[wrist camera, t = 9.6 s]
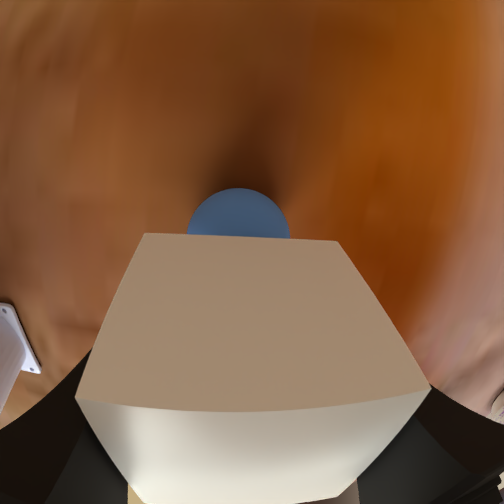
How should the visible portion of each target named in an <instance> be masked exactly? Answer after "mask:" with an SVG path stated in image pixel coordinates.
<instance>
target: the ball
mask: <svg viewBox="0 0 504 504" xmlns="http://www.w3.org/2000/svg"><path fill="white" fill-rule="evenodd" d="M187 234H190V235H216V236H240V237H263V238H284V239H290V233H289V228H288V224H287V221H286V219H285V217H284V215H283V213H282V211H281V210H280V209H279V207H278V206H277V205H276V204H275V203H274V202H273V201H272V200H271V199H269V198H268V197H266V196H265V195H263V194H261V193H259V192H257V191H254V190H250V189H244V188H232V189H226V190H223V191H220V192H218V193H215V194H213V195H212V196H210V197H209V198H207V199H206V200H205V201H204V202H203V203H202V204H201V205H200V206H199V207H198V208H197V209H196V211H195V212H194V214H193V216H192V218H191V220H190V223H189V226H188V230H187Z"/></svg>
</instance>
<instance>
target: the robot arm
mask: <svg viewBox="0 0 504 504" xmlns="http://www.w3.org/2000/svg"><path fill="white" fill-rule="evenodd" d="M92 348H93V347H92ZM91 351H92V349H91V350H90V351H89V352H88V353H87V354H86V356H85V357H84V358H83V359H82V360H81V361H80V362H79V363H78V364H77V365H76V367H75V368H74V369H73V370H72V371H71V372H70V373H69V374H68V375H67V376H66V377H65V378H64V379H63V380H62V381H61V382H60V383H59V384H58V385H57V386H56V387H55V388H54V389H53V390H52V391H51V392H50V393H48V394H47V395H46V396H45V397H44V398H43V399H42V400H40V401H39V402H38V403H37V404H36V405H34V406H33V407H32V408H31V409H29V410H28V411H27V412H25V413H24V414H23V415H21V416H20V417H19V418H17V419H16V420H14V421H13V422H11V423H10V424H8V425H7V426H5V427H4V428H2V429H1V430H0V504H128V503H127V501H128V495H127V494H128V482H127V481H126V479H125V478H124V476H123V475H122V474H121V472H120V471H119V469H118V468H117V467H116V465H115V464H114V462H113V461H112V459H111V458H110V456H109V455H108V453H107V452H106V450H105V449H104V447H103V446H102V444H101V442H100V441H99V439H98V438H97V436H96V434H95V433H94V431H93V429H92V428H91V426H90V424H89V422H88V421H87V419H86V417H85V415H84V414H83V412H82V410H81V408H80V406H79V404H78V403H77V401H76V399H75V395H76V392H77V389H78V386H79V383H80V381H81V378H82V375H83V372H84V370H85V367H86V364H87V361H88V359H89V356H90V354H91ZM20 370H25V371H29V372H33V373H37V374H40V373H41V370H42V369H41V367H40V365H39V363H38V361H37V359H36V357H35V355H34V353H33V351H32V349H31V347H30V345H29V342H28V340H27V338H26V336H25V333H24V331H23V329H22V327H21V324H20V322H19V319H18V317H17V314H16V312H15V309H14V307H13V306H12V305H10V304H6V303H0V414H1V412H2V409H3V407H4V405H5V402H6V400H7V398H8V396H9V393H10V391H11V389H12V387H13V385H14V382H15V380H16V378H17V376H18V374H19V372H20ZM429 385H430V386H431V388H432V389H431V390H430V392H429V393H428V394H427V396H426V397H425V399H424V400H423V401H422V403H421V404H420V405H419V407H418V408H417V409H416V411H415V412H414V413H413V415H412V416H411V417H410V419H409V420H408V421H407V422H406V424H405V425H404V426H403V427H402V429H401V430H400V431H399V432H398V434H397V435H396V436H395V437H394V438H393V439H392V441H391V442H390V443H389V444H388V445H387V446H386V448H385V449H384V450H383V451H382V452H381V453H380V454H379V455H378V456H377V458H376V459H375V460H374V461H373V462H372V463H371V464H370V465H369V466H368V467H367V468H366V469H365V470H364V471H363V472H362V473H361V474H360V475H359V476H358V477H357V484H358V491H359V501H360V504H504V488H502V489H501V490H499V489H498V487H497V485H499V484H500V483H501V478H500V476H499V475H500V474H501V473H502V472H504V424H501V423H498V422H495V421H493V420H491V419H488V418H486V417H484V416H482V415H480V414H478V413H476V412H474V411H472V410H470V409H468V408H466V407H464V406H463V405H461V404H459V403H458V402H456V401H454V400H452V399H451V398H449V397H448V396H446V395H445V394H443V393H442V392H440V391H439V390H438V389H436V388H435V387H433V386H432V385H431V384H429Z"/></svg>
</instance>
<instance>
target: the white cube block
mask: <svg viewBox="0 0 504 504" xmlns="http://www.w3.org/2000/svg"><path fill="white" fill-rule="evenodd" d="M431 389H432V388H431V386H430V385H429V383H428V381H427V379H426V378H425V376H424V374H423V372H422V371H421V369H420V367H419V366H418V364H417V362H416V360H415V359H414V357H413V355H412V354H411V352H410V351H409V349H408V347H407V346H406V344H405V342H404V341H403V339H402V337H401V336H400V334H399V333H398V331H397V329H396V328H395V326H394V325H393V323H392V322H391V320H390V318H389V317H388V315H387V314H386V312H385V311H384V309H383V308H382V306H381V305H380V303H379V301H378V300H377V298H376V297H375V295H374V294H373V292H372V291H371V289H370V288H369V286H368V285H367V283H366V282H365V281H364V279H363V278H362V276H361V275H360V273H359V272H358V270H357V269H356V267H355V266H354V265H353V263H352V262H351V260H350V259H349V257H348V256H347V255H346V253H345V252H344V250H343V249H342V247H341V246H340V245H339V243H338V242H337V241H324V240H305V239H284V238H263V237H240V236H216V235H190V234H162V233H144V235H143V237H142V239H141V241H140V243H139V245H138V247H137V249H136V251H135V253H134V255H133V257H132V259H131V261H130V264H129V266H128V268H127V270H126V272H125V274H124V276H123V278H122V280H121V283H120V285H119V287H118V289H117V291H116V294H115V296H114V298H113V300H112V303H111V305H110V307H109V310H108V312H107V314H106V317H105V319H104V321H103V324H102V326H101V328H100V331H99V333H98V336H97V338H96V341H95V343H94V346H93V348H92V351H91V354H90V356H89V359H88V361H87V364H86V367H85V370H84V372H83V375H82V378H81V381H80V383H79V386H78V389H77V392H76V395H75V399H76V401H77V403H78V404H79V406H80V408H81V410H82V412H83V414H84V415H85V417H86V419H87V421H88V422H89V424H90V426H91V428H92V429H93V431H94V433H95V434H96V436H97V438H98V439H99V441H100V442H101V444H102V446H103V447H104V449H105V450H106V452H107V453H108V455H109V456H110V458H111V459H112V461H113V462H114V464H115V465H116V467H117V468H118V469H119V471H120V472H121V474H122V475H123V476H124V478H125V479H126V481H127V482H128V483H129V484H130V486H131V487H132V489H133V490H134V491H135V492H136V494H137V495H138V496H139V498H140V499H141V500H142V501H143V503H149V504H295V503H302V502H309V501H316V500H321V499H327V498H332V497H337V496H338V495H339V494H341V493H342V491H344V490H345V489H346V488H347V487H348V486H349V485H350V484H351V483H352V482H353V481H354V480H355V479H356V478H357V477H358V476H359V475H360V474H361V473H362V472H363V471H364V470H365V469H366V468H367V467H368V466H369V465H370V464H371V463H372V462H373V461H374V460H375V459H376V458H377V456H378V455H379V454H380V453H381V452H382V451H383V450H384V449H385V448H386V446H387V445H388V444H389V443H390V442H391V441H392V439H393V438H394V437H395V436H396V435H397V434H398V432H399V431H400V430H401V429H402V427H403V426H404V425H405V424H406V422H407V421H408V420H409V419H410V417H411V416H412V415H413V413H414V412H415V411H416V409H417V408H418V407H419V405H420V404H421V403H422V401H423V400H424V399H425V397H426V396H427V394H428V393H429V392H430V390H431Z"/></svg>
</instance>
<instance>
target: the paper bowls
mask: <svg viewBox="0 0 504 504" xmlns="http://www.w3.org/2000/svg"><path fill="white" fill-rule="evenodd" d="M491 415H492V419H491V420H493V421H495V422H498V423H501V424H504V390H503V391H502V393H501V394H500V395H499V396H498V397H497V399H496V400H495V401H494V403H493V405H492V408H491Z"/></svg>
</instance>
